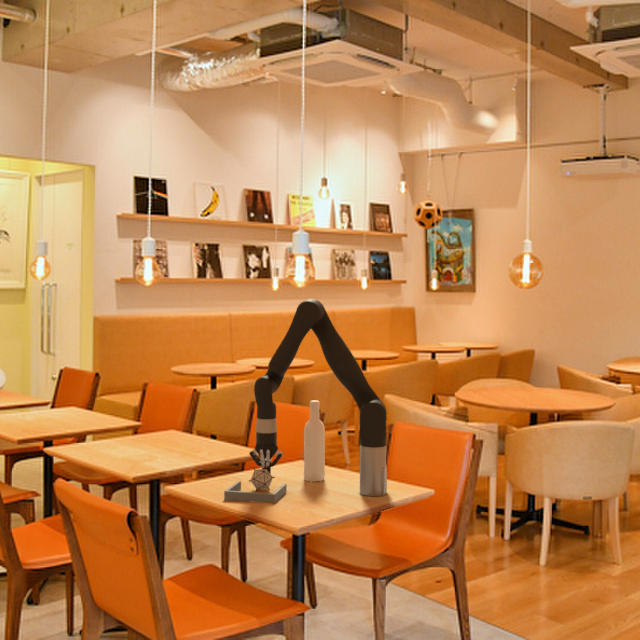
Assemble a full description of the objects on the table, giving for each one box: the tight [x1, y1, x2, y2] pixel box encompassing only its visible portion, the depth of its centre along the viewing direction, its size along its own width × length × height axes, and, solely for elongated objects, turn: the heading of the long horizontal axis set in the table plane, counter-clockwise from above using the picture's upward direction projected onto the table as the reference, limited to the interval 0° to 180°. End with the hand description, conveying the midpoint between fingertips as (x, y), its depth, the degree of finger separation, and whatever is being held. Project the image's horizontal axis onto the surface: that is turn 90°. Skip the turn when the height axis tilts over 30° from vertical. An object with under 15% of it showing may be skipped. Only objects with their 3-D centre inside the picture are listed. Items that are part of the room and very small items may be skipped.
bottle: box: [303, 399, 326, 482], centre depth 318 cm, size 8×8×30 cm
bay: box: [223, 480, 288, 504], centre depth 294 cm, size 18×15×3 cm
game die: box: [248, 467, 276, 492], centre depth 302 cm, size 9×8×10 cm
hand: (266, 477), depth 306 cm, fingers closed
